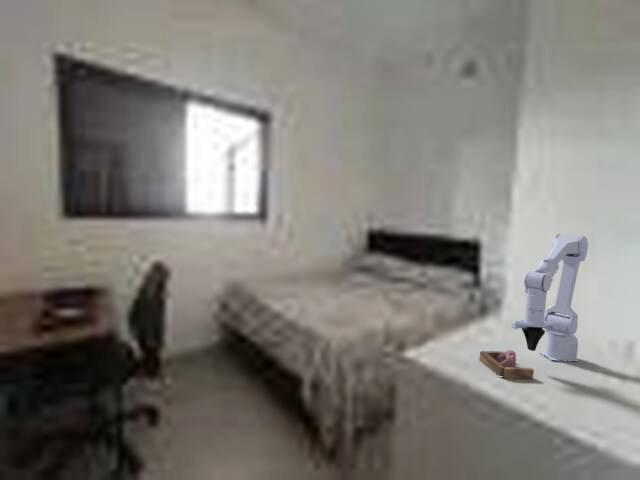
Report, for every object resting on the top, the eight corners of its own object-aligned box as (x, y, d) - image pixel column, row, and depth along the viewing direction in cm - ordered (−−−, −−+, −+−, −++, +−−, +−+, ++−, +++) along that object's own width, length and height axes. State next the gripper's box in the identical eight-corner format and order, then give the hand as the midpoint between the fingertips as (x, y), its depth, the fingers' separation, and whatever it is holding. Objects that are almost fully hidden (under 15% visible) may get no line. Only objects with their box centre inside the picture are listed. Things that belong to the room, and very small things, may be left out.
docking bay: (506, 360, 150) (507, 351, 150) (532, 379, 134) (533, 369, 134) (478, 359, 149) (479, 350, 149) (501, 378, 133) (502, 368, 133)
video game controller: (507, 377, 138) (520, 360, 137) (494, 369, 139) (507, 351, 138) (506, 367, 147) (518, 351, 146) (494, 359, 149) (505, 343, 147)
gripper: (547, 306, 146) (543, 345, 147) (507, 305, 143) (503, 345, 144) (561, 311, 139) (557, 352, 140) (520, 311, 136) (516, 353, 138)
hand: (531, 349), depth 142 cm, fingers closed
